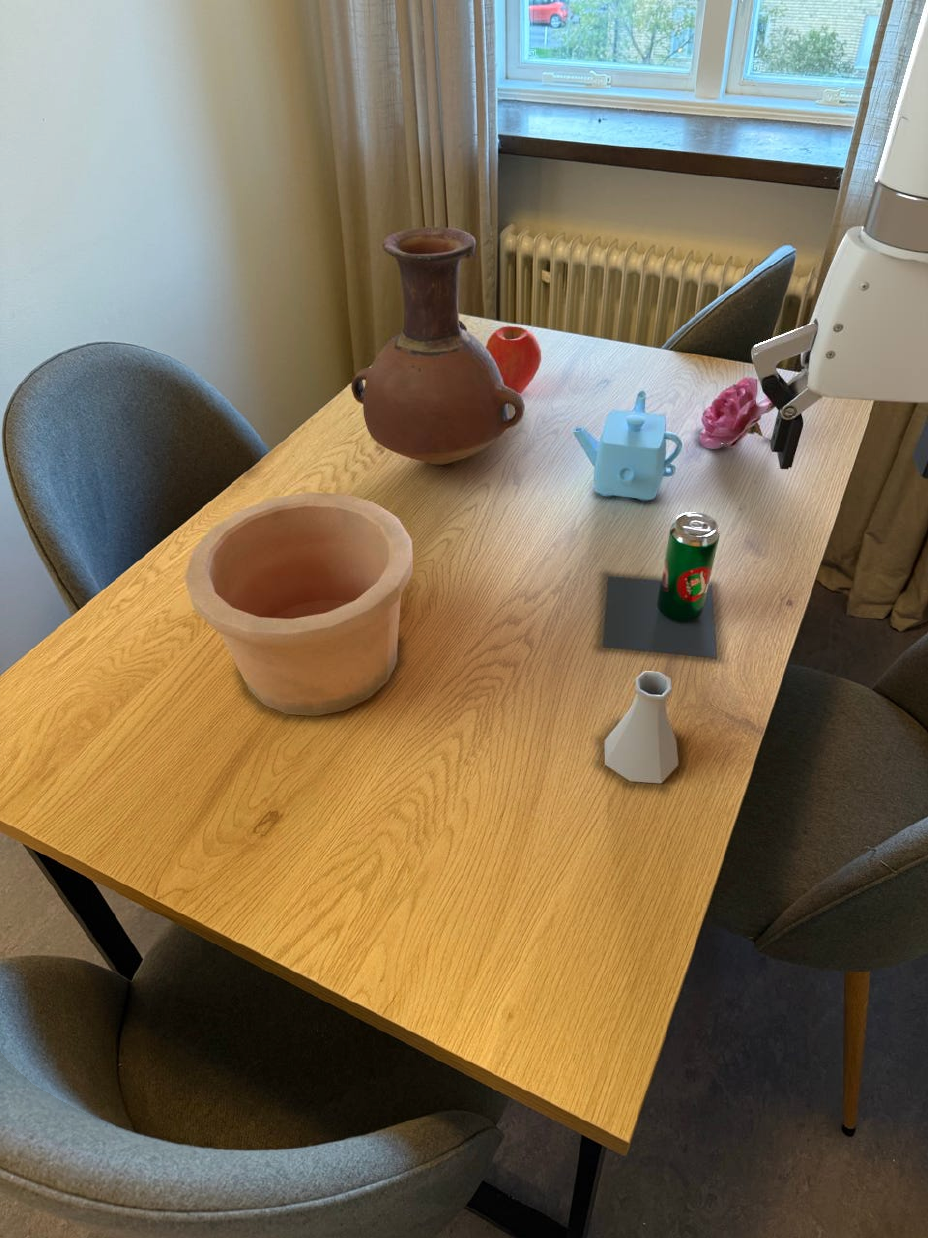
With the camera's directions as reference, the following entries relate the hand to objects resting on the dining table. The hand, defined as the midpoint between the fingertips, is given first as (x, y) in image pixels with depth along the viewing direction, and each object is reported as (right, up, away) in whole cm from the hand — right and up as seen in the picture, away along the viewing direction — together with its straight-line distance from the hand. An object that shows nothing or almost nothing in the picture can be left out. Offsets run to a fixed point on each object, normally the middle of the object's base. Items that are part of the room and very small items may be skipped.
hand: (851, 463), depth 61 cm
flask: (-11, -25, +19) cm, 33 cm away
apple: (-21, +24, +71) cm, 78 cm away
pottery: (-44, -16, +30) cm, 55 cm away
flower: (+10, +14, +60) cm, 62 cm away
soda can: (-4, -10, +33) cm, 35 cm away
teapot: (-7, +7, +52) cm, 53 cm away
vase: (-32, +11, +58) cm, 67 cm away
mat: (-6, -11, +33) cm, 35 cm away
